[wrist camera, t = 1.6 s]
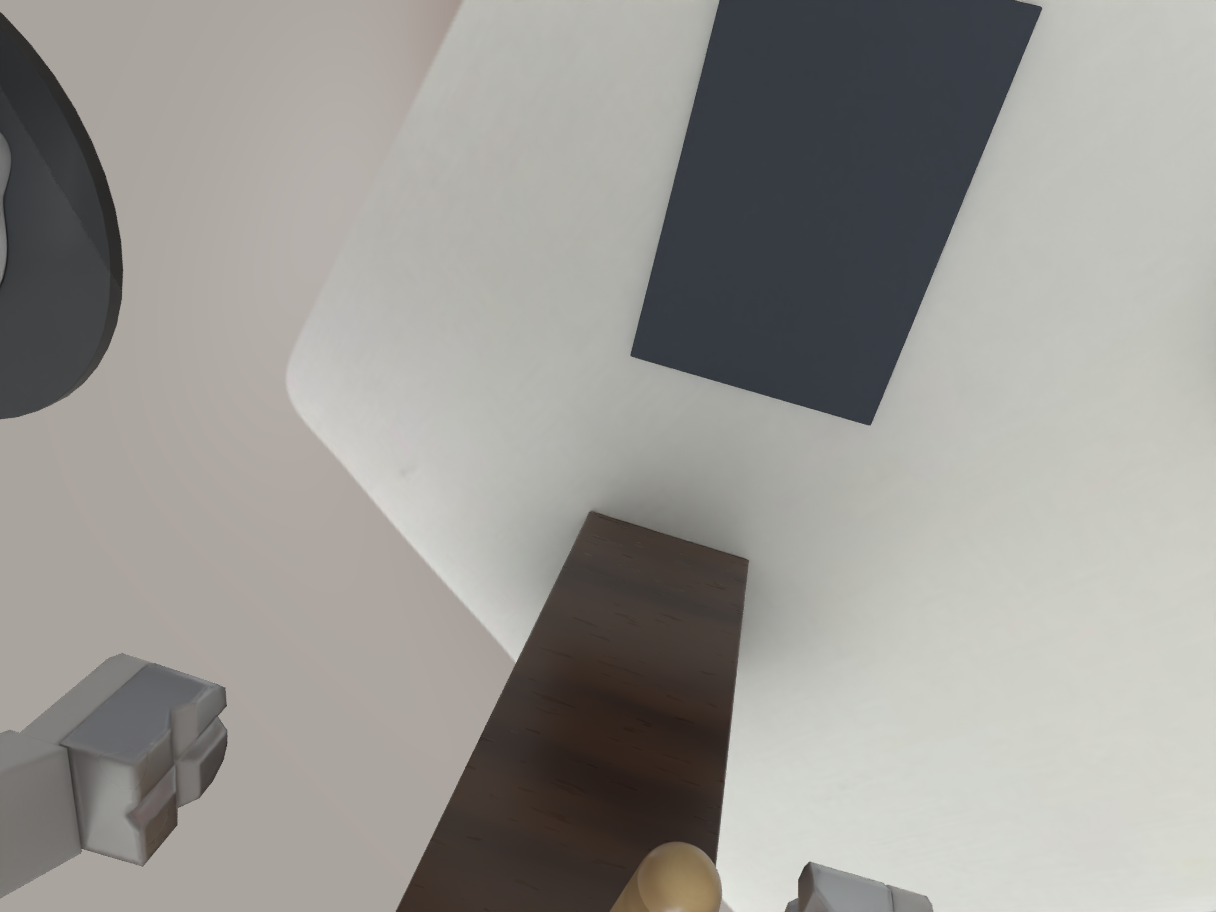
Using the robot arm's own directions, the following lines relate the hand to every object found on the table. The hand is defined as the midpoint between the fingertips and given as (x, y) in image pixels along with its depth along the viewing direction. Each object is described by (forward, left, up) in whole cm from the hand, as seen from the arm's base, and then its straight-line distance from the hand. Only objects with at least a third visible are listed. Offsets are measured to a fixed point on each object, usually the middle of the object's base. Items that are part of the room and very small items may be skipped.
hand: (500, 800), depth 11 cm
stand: (+15, -9, -31) cm, 36 cm away
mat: (-2, +5, -31) cm, 31 cm away
